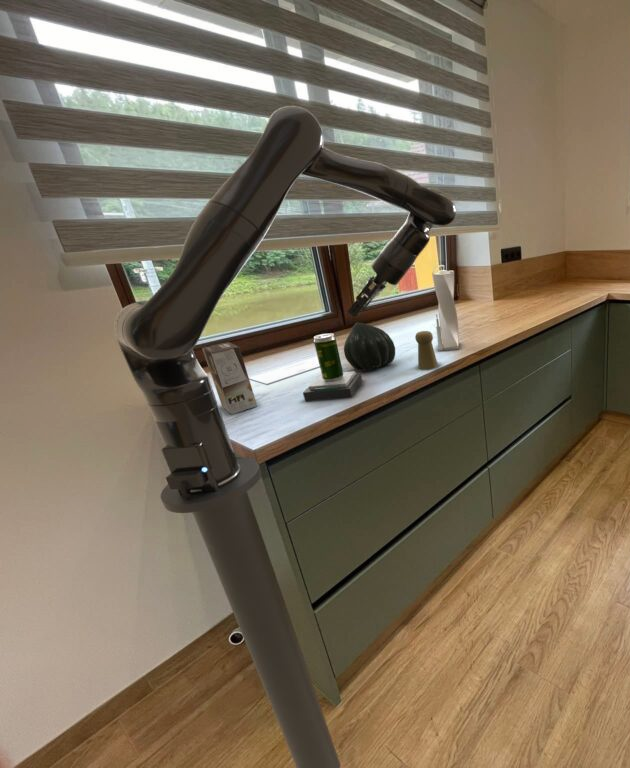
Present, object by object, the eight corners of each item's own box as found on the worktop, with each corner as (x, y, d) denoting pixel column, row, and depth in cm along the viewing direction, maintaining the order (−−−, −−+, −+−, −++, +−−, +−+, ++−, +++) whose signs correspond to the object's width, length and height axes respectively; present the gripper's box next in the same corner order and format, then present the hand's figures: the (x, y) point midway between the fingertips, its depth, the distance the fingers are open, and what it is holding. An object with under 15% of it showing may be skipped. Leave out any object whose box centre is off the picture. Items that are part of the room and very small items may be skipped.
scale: (351, 397, 112) (349, 385, 111) (305, 401, 111) (301, 389, 110) (362, 381, 123) (360, 369, 122) (320, 385, 122) (317, 373, 121)
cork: (415, 369, 130) (410, 334, 126) (422, 363, 136) (417, 329, 132) (434, 369, 129) (429, 334, 125) (440, 362, 135) (436, 329, 131)
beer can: (339, 373, 120) (330, 332, 115) (347, 377, 116) (338, 335, 112) (320, 379, 116) (309, 336, 112) (327, 383, 113) (317, 339, 108)
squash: (403, 351, 129) (384, 311, 133) (354, 365, 122) (335, 321, 125) (397, 372, 141) (380, 334, 145) (352, 385, 134) (335, 345, 137)
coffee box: (258, 406, 110) (240, 346, 104) (231, 415, 106) (210, 353, 100) (247, 398, 116) (229, 341, 110) (220, 406, 112) (200, 347, 106)
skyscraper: (439, 344, 155) (429, 265, 145) (461, 342, 156) (453, 263, 145) (438, 351, 147) (427, 267, 137) (461, 349, 148) (453, 266, 138)
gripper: (387, 248, 110) (350, 296, 113) (375, 252, 96) (334, 306, 100) (411, 268, 112) (374, 315, 115) (402, 274, 99) (361, 327, 102)
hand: (355, 311), depth 107 cm, fingers open, 8 cm apart
